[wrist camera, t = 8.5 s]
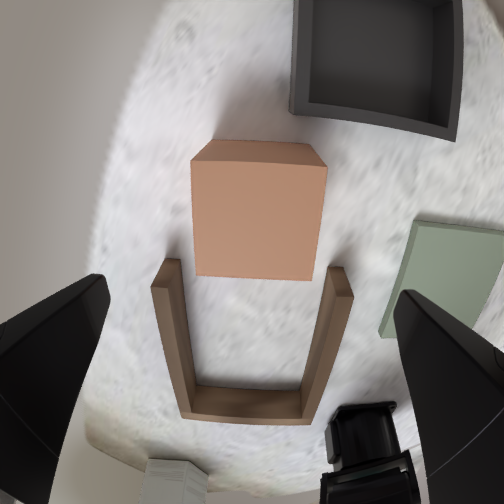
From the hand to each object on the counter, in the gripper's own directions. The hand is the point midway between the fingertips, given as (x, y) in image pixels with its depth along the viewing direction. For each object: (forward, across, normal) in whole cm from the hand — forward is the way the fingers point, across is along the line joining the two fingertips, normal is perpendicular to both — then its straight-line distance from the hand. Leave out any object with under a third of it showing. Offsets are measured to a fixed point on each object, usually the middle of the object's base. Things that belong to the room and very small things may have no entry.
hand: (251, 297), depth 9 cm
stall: (+9, 0, +12) cm, 15 cm away
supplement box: (+9, +10, +42) cm, 45 cm away
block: (+9, 0, 0) cm, 9 cm away
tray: (+9, -5, -9) cm, 14 cm away
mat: (+9, -14, +5) cm, 17 cm away
